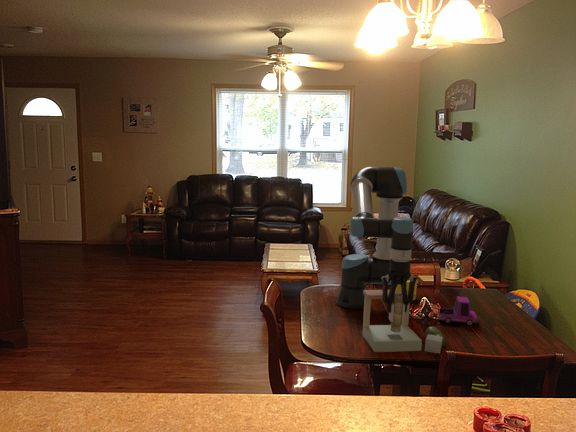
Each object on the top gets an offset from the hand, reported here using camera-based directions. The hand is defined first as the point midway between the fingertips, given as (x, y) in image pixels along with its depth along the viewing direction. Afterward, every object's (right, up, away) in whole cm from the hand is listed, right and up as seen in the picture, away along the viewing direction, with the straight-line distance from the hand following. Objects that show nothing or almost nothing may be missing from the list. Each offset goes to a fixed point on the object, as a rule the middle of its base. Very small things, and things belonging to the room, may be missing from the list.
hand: (396, 320), depth 195 cm
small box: (+14, -12, +1) cm, 18 cm away
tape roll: (+17, -1, +61) cm, 64 cm away
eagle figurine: (+7, -8, +22) cm, 24 cm away
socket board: (-1, -10, +6) cm, 11 cm away
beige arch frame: (-2, -5, +10) cm, 11 cm away
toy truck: (+33, -7, +32) cm, 46 cm away
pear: (+17, -10, +8) cm, 21 cm away
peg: (0, -4, +1) cm, 4 cm away
